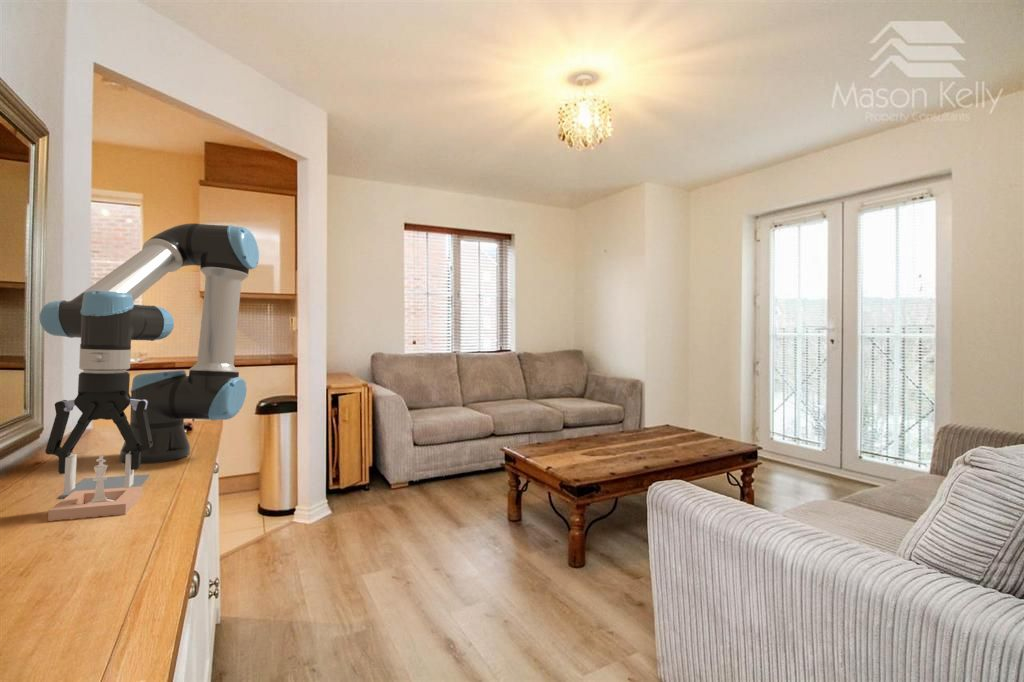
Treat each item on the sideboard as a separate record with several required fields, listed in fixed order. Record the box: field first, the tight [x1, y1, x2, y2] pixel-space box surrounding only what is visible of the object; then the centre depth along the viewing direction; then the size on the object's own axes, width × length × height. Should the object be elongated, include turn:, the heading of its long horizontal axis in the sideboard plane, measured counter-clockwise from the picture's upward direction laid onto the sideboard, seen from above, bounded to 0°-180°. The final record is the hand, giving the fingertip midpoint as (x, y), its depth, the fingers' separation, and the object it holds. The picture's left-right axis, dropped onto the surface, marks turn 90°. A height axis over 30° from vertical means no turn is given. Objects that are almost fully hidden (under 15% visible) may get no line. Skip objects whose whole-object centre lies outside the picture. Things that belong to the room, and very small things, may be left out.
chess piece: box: [89, 455, 114, 503], centre depth 91 cm, size 5×5×10 cm
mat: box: [59, 473, 151, 499], centre depth 103 cm, size 12×12×1 cm
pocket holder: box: [47, 485, 144, 522], centre depth 91 cm, size 11×11×2 cm
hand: (99, 487), depth 91 cm, fingers open, 8 cm apart
